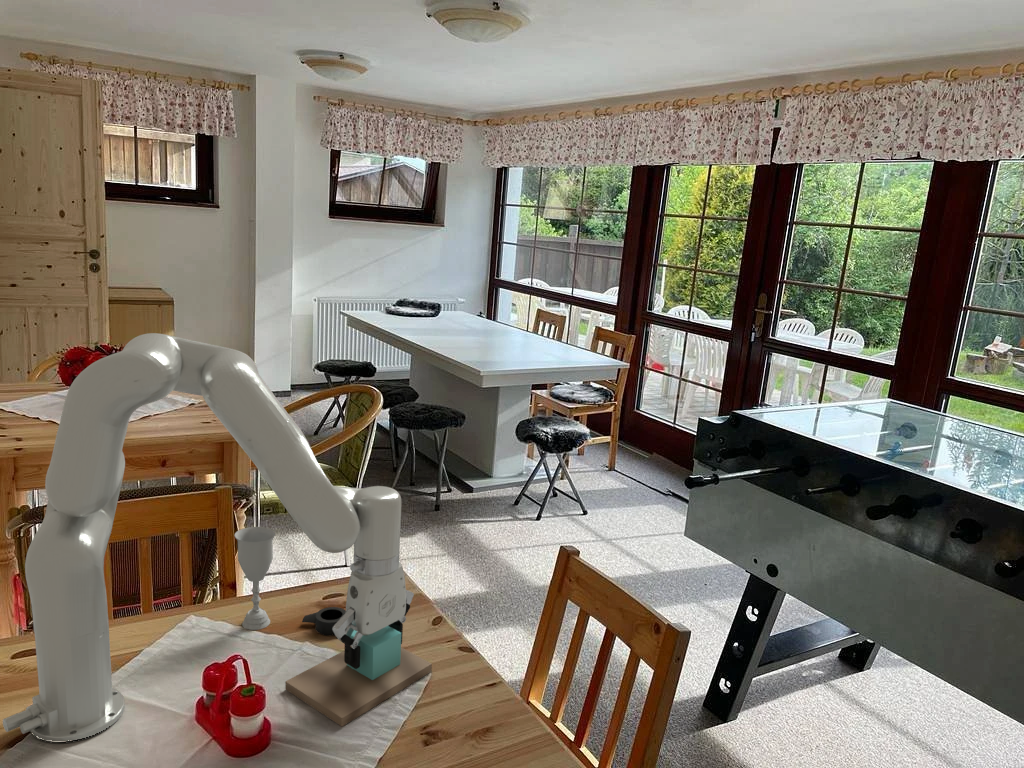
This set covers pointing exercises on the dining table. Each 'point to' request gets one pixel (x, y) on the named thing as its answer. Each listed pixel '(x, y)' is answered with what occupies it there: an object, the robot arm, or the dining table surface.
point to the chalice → (255, 568)
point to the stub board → (353, 686)
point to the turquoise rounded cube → (379, 652)
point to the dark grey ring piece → (325, 619)
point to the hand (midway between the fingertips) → (373, 653)
